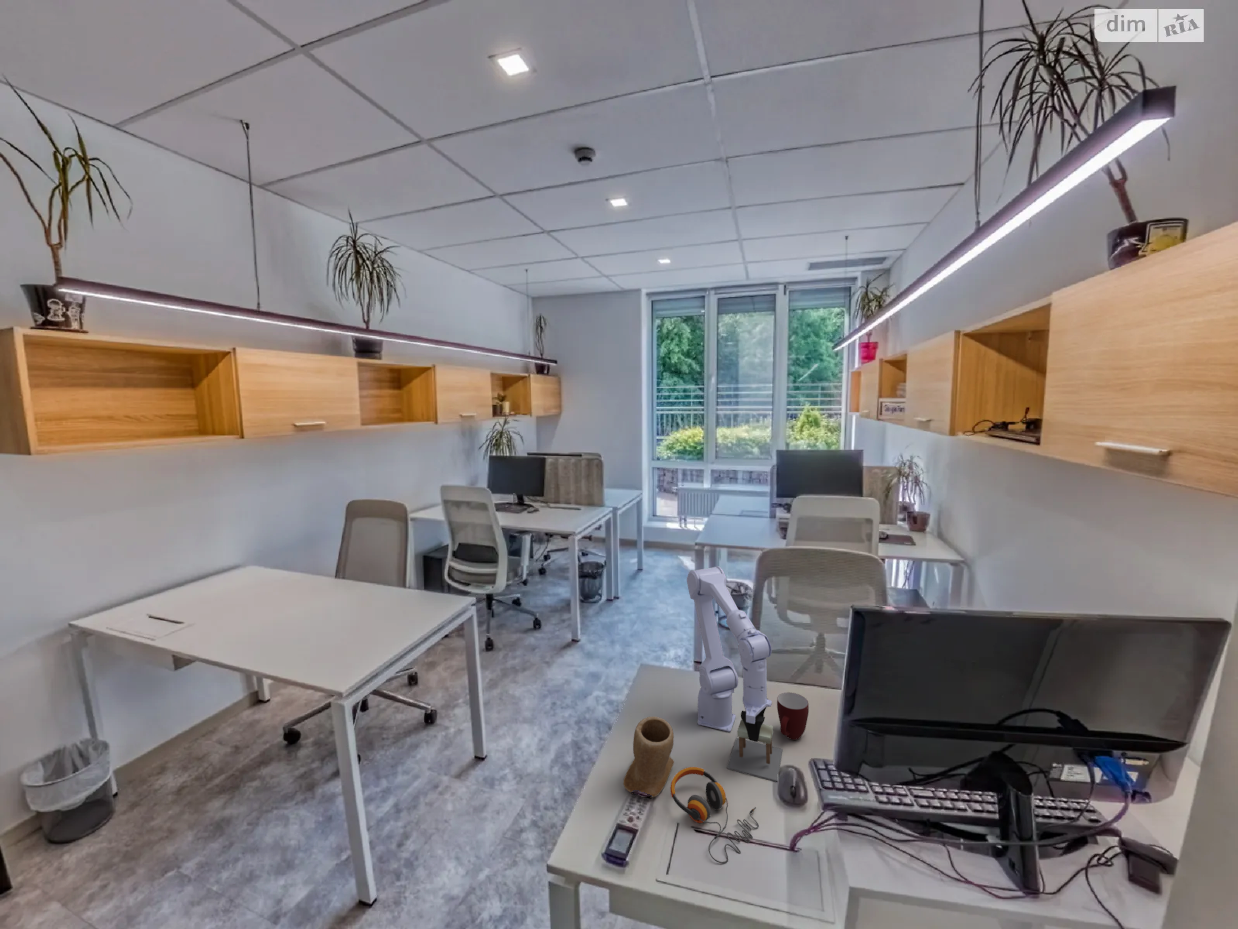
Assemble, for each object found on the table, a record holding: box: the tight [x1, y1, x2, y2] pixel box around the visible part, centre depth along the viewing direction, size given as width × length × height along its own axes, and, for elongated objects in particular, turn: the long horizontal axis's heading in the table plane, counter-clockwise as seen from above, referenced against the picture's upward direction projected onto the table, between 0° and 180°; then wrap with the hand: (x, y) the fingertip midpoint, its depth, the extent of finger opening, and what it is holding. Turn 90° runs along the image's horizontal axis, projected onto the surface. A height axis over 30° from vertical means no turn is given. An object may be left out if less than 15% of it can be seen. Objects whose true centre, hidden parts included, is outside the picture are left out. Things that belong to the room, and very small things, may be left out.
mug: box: [776, 691, 810, 741], centre depth 131 cm, size 10×8×10 cm
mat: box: [726, 737, 784, 783], centre depth 123 cm, size 12×12×1 cm
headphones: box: [669, 766, 760, 864], centre depth 106 cm, size 17×5×20 cm
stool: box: [736, 719, 774, 764], centre depth 123 cm, size 5×8×7 cm, turn 65°
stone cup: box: [622, 716, 675, 798], centre depth 117 cm, size 15×12×15 cm
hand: (755, 733), depth 123 cm, fingers closed on stool, 5 cm apart
